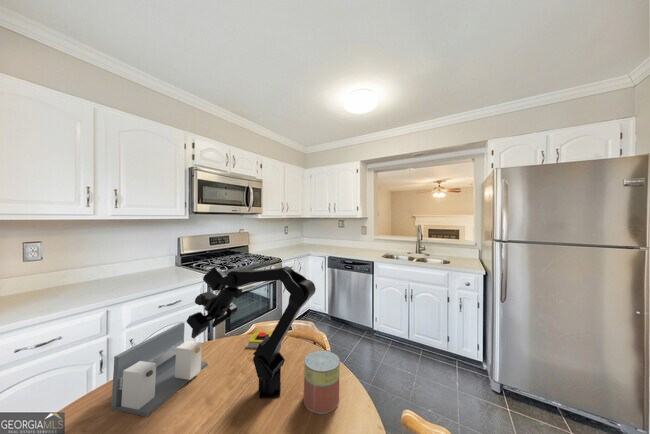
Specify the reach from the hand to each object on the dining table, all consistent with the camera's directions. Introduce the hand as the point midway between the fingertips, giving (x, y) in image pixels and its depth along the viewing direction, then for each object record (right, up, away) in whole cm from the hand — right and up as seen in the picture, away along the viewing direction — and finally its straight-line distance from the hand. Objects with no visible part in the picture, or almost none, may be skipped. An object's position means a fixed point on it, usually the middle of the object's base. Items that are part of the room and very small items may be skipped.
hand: (203, 331), depth 83 cm
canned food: (+44, -15, -12) cm, 48 cm away
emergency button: (+17, -17, +22) cm, 32 cm away
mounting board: (-9, -14, -7) cm, 18 cm away
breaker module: (-3, -13, -3) cm, 14 cm away
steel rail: (-13, -9, -6) cm, 17 cm away
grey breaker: (-10, -13, -16) cm, 23 cm away
